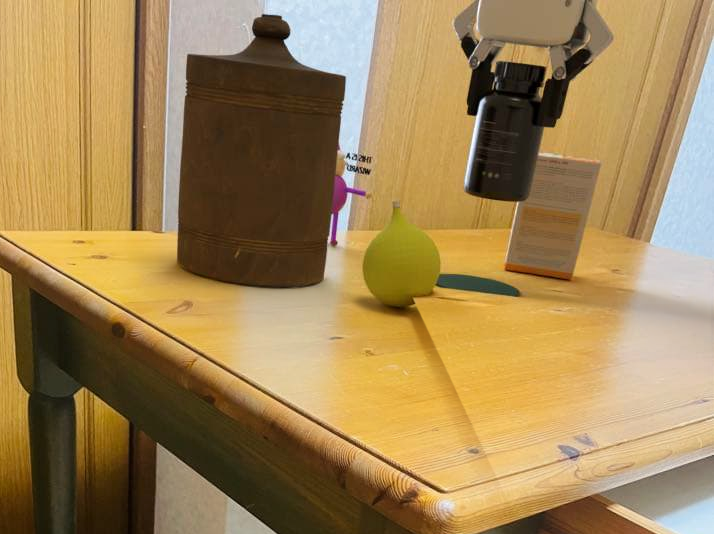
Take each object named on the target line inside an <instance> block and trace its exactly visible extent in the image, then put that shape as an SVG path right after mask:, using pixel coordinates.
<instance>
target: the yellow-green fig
mask: <svg viewBox="0 0 714 534" xmlns="http://www.w3.org/2000/svg"><path fill="white" fill-rule="evenodd" d="M396 197H397V196H394V198H395V199H394V200H393V201H392V214H391V216H390V220H389V221H388V223H387V224H386V225H385V226H384V227H383V229H381V230H380V232H378V233H377V234H376V235H375V236H374V238H373V239H372V240H371V241H370V243H369V244H368V246H367V248H366V250H365V252H364V255H363V260H362V277H363V280H364V283H365V285H366V287H367V289H368V291H369V292H370V294H372V295H373V297H374V298H375V299H376V300H378V301H379V302H381V303H383V304H385V305H388V306H390V307H396V308H406V307H410V306H414V305H416V304H417V303H416V301H415V299H414V297H422V296H427V295H430V294H431V293H432V291H433V290H434V288H435V287H436V286H437V285H436V283H437V280H438V278H439V274H441V265H442V264H441V256H440V252H439V250H438V247H437V245H436V244H435V242H434V241H433V239H432V238H431V236H429V235H428V233H426V232H424V231H423V230H421V229H420V228H418V227H417V226H415V225H414V224H412V223H410V221H408V220H407V218H406V217H404V215H403V213H402V211H401V207H400V206H401V205H400V200H397V198H396Z"/></svg>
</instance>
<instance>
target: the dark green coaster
mask: <svg viewBox="0 0 714 534" xmlns="http://www.w3.org/2000/svg"><path fill="white" fill-rule="evenodd" d="M435 286H437V287H439V288H442V289H449V290H456V291H465V292H473V293H481V294H489V295H498V296H505V297H513V298H517V297H519V296H520V294H521V292H520V290H519V289H518V288H516V287H515V286H513V285H511V284H508V283H505V282H503V281H499V280H496V279H491V278H487V277H484V276H483V277H482V276H477V275H470V274H461V273H440V274H439V278H438V280H437V283H436V285H435Z"/></svg>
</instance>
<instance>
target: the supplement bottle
mask: <svg viewBox="0 0 714 534" xmlns="http://www.w3.org/2000/svg"><path fill="white" fill-rule="evenodd" d="M546 73H547V66H544V65H538V64H532V63H531V64H530V63H522V62H516V61H515V62H514V61H504V60H496V61H495V67H494V77H493V79H492V82H494V83H493V88H492V90H491V91H489V92H487V93H486V94H484V95H483V96H482V97H481V99H480V100H479V103H478V107H477V112H476V116H474V117H475V118H474V123H473V128H472V135H471V138H470V139H471V140H470V144H469V145H470V146H469V151H468V156H467V162H466V167H465V171H464V172H465V173H464V179H463V185H462V187H463V191H464V193H465V194H466V195H469V196H473V197H477V198H481V199H484V200H485V199H486V200H492V201H499V202H510V203H512V202H513V203H517V202H523V201H525V200H526V199H527V198H528V197H529V194H530V190H531V185H532V181H533V177H534V172H535V168H536V163H537V159H538V154H539V152H540V150H541V149H540V148H541V145H542V140H543V135H544V131H545V127H540V126H538V125H537V124H536V121H537V117H538V112H539V108H540V104H541V99H542V96H541V95H540V91H541V89H544V86H545V77H546Z"/></svg>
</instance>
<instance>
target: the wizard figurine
mask: <svg viewBox="0 0 714 534" xmlns="http://www.w3.org/2000/svg"><path fill="white" fill-rule="evenodd" d="M352 155H353V156H352V157H351V154H350V152H347V154H345V153H344V151H343V150H341V146H340V143H339V144H338V153H337V163H336V174H335V185H334V197H333V206H332V223H331V232H330V241H329V244H330V246H332V247H337V246H338V243H339V242H338V240H337V231H338V222H339V213H340V211H341V210H342V209H343V208H344V206H345V205H346V202H347V199H348V193H349V194H352V195H357V196H361V197H364V198H366V199H368V200H370V199H372V195H373V194H372V192H371V190H366V191H365V190H362V189H357V188H353V187H348V185H347V183H346V181H345V179H344V177H342V176H343V175H344V174H345V169H346V170H347V171H348V172H353V173H357V174H361V175H366V176H370V174H371V171H372V168H367V167H364V166H359V165H358V166H356V165H353V164H349V163H348V162H347V159H348V160H352V161H356V162H361V163H366V164H372V159H373V157H372V156H367V155H362V154H359V155H358V153H352ZM358 156H359V158H358Z"/></svg>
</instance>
